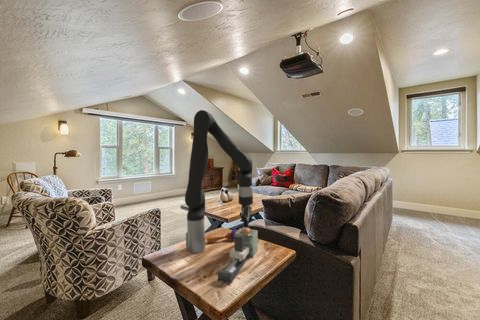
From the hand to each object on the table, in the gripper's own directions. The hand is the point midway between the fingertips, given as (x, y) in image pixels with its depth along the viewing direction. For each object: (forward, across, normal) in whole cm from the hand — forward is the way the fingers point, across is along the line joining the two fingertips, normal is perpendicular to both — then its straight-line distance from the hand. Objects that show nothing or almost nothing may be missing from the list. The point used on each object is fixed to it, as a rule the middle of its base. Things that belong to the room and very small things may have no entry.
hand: (246, 227), depth 114 cm
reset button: (+5, 0, 0) cm, 5 cm away
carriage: (+12, +10, 0) cm, 15 cm away
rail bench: (+13, +12, 0) cm, 18 cm away
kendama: (+14, -9, -18) cm, 24 cm away
